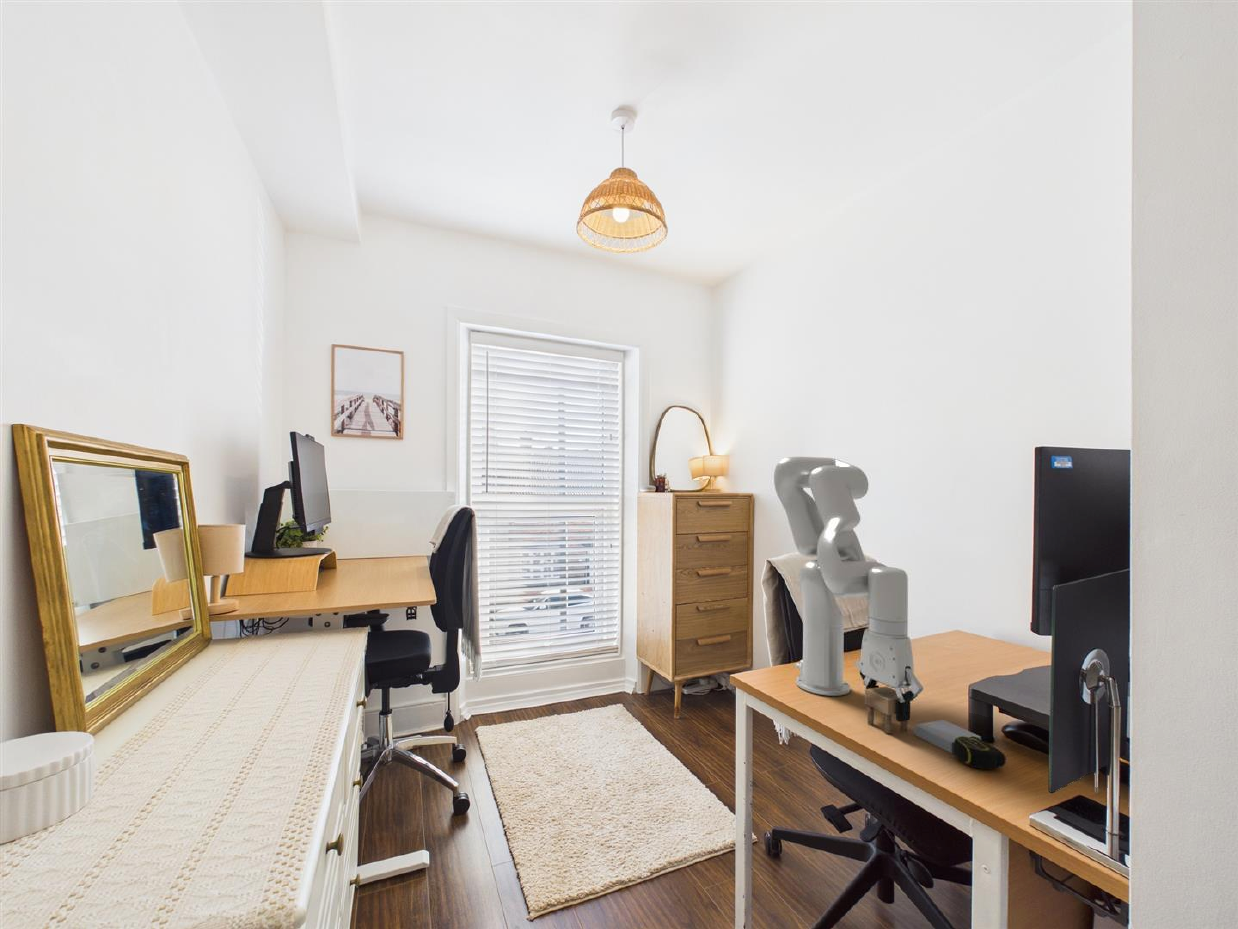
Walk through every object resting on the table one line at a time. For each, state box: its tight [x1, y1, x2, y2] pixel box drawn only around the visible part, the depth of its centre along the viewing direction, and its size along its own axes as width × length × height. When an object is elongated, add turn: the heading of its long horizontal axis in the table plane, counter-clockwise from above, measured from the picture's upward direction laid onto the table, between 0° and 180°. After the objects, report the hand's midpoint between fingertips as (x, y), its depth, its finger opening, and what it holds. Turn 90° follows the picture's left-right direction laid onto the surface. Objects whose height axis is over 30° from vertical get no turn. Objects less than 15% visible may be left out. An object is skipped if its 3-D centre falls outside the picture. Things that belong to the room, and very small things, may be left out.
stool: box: [864, 685, 908, 735], centre depth 112 cm, size 6×6×7 cm
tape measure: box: [953, 736, 1007, 770], centre depth 98 cm, size 7×7×4 cm
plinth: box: [914, 719, 982, 754], centre depth 106 cm, size 8×8×2 cm
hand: (887, 712), depth 112 cm, fingers open, 7 cm apart
